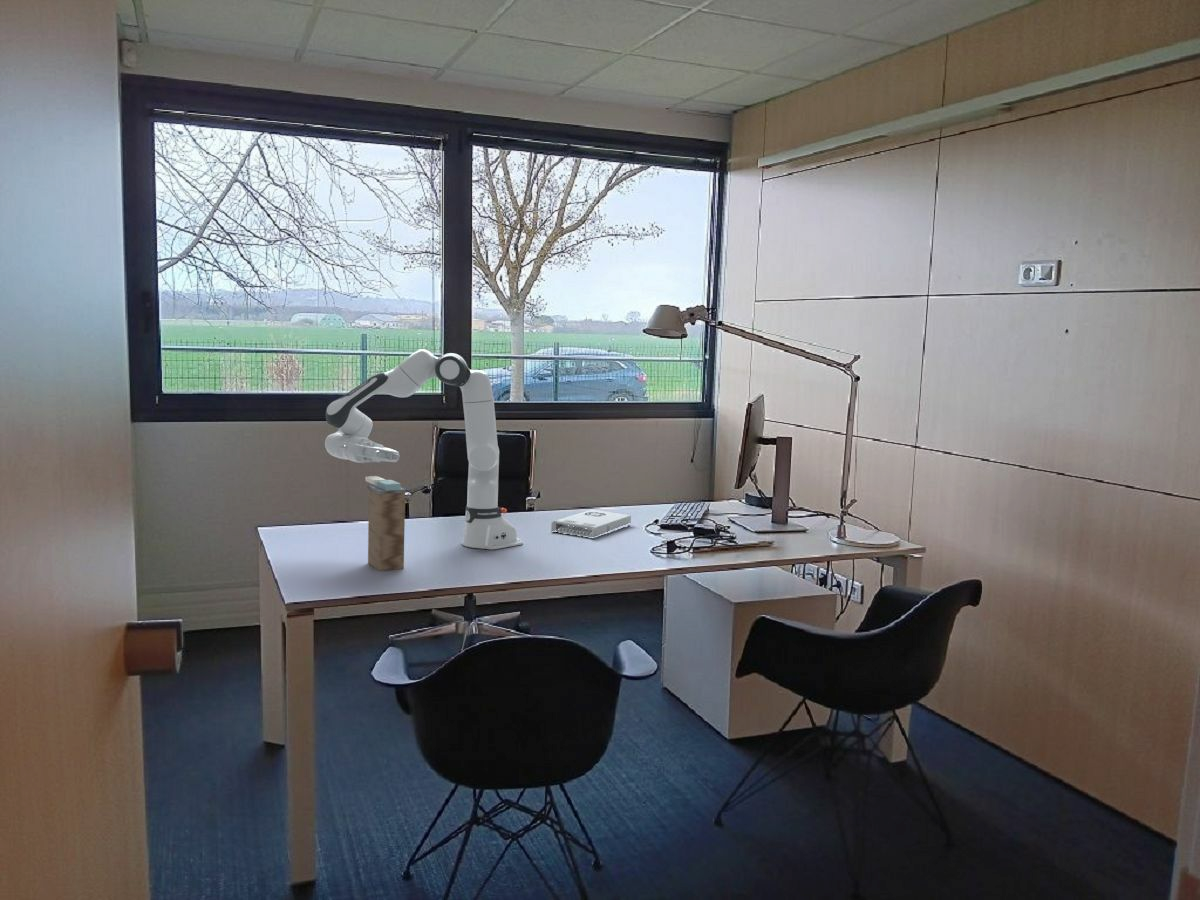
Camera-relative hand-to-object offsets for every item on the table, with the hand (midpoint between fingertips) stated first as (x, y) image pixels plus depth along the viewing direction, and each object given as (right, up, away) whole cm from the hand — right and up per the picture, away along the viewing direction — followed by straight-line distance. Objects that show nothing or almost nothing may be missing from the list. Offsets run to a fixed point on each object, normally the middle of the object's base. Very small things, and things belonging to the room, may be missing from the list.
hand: (387, 455), depth 300 cm
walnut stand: (+2, -36, -10) cm, 38 cm away
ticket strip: (+1, -10, -10) cm, 14 cm away
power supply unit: (+69, -31, +60) cm, 97 cm away
